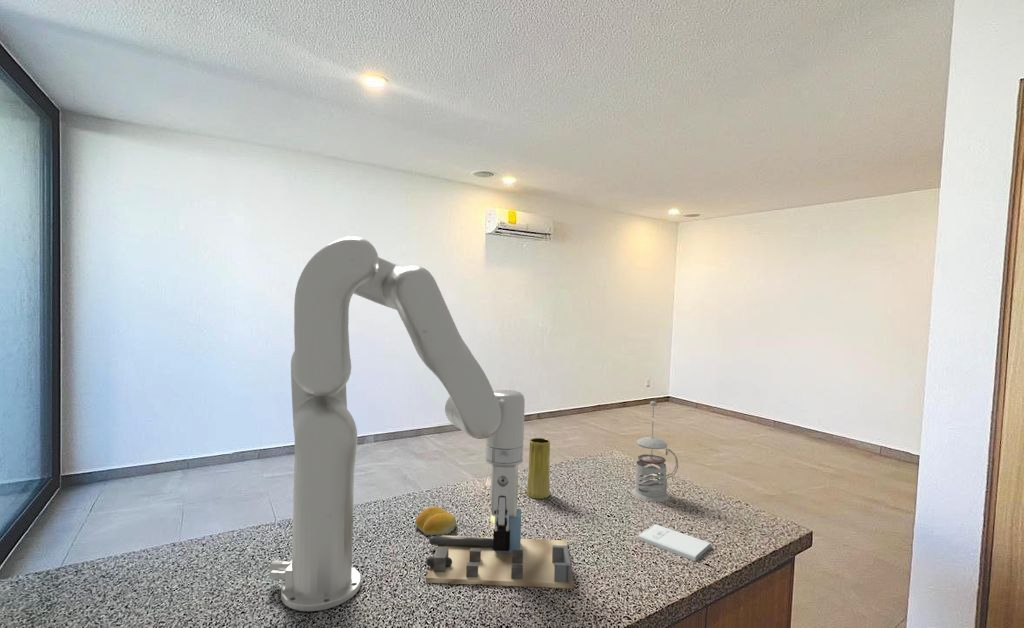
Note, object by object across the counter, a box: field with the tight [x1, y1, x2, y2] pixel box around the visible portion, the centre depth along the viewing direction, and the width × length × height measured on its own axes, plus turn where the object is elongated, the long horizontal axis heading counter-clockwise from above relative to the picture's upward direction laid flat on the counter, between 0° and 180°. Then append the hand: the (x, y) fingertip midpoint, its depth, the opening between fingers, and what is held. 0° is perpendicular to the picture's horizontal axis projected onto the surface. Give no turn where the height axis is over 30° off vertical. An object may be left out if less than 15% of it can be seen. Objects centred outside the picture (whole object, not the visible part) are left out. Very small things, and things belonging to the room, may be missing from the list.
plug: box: [428, 508, 522, 553], centre depth 97 cm, size 18×4×7 cm, turn 89°
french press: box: [631, 400, 679, 503], centre depth 130 cm, size 10×12×25 cm
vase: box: [526, 437, 551, 500], centre depth 127 cm, size 6×6×14 cm
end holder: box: [552, 545, 572, 582], centre depth 89 cm, size 3×7×3 cm, turn 179°
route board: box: [425, 535, 575, 589], centre depth 93 cm, size 27×16×3 cm, turn 89°
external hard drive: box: [637, 524, 712, 562], centre depth 103 cm, size 2×8×12 cm
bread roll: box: [415, 506, 457, 536], centre depth 107 cm, size 8×9×4 cm
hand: (501, 543), depth 97 cm, fingers closed on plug, 4 cm apart
